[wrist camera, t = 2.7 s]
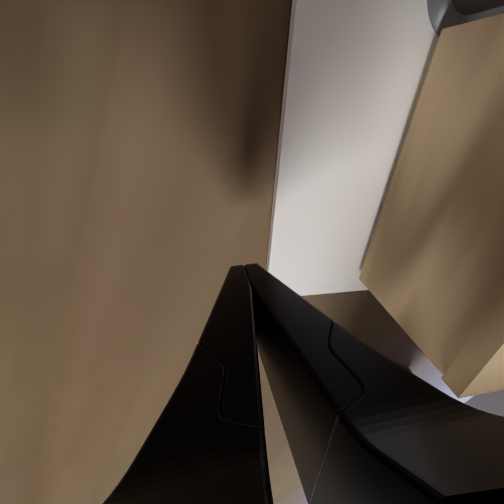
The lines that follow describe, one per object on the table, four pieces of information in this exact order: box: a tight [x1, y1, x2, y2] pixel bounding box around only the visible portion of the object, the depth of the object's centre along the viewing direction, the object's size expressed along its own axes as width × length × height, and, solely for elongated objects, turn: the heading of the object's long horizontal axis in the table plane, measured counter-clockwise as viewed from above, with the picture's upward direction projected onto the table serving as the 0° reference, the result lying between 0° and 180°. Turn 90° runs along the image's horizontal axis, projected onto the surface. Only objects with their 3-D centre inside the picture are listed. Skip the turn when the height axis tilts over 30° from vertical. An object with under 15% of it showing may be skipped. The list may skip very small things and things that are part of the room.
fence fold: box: [359, 13, 504, 398], centre depth 7 cm, size 9×2×6 cm, turn 177°
